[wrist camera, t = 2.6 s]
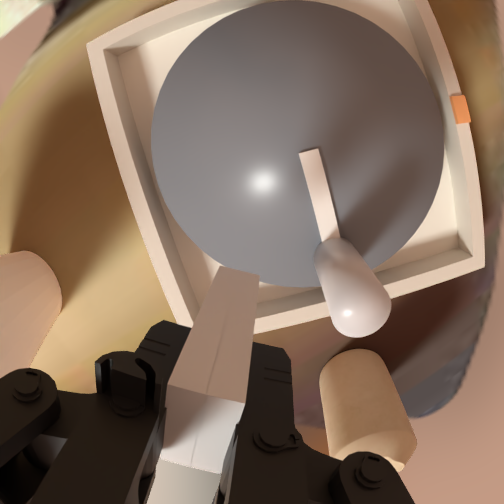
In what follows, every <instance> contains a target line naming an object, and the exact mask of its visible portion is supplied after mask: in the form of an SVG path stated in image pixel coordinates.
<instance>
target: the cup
mask: <svg viewBox="0 0 504 504" xmlns="http://www.w3.org/2000/svg"><path fill="white" fill-rule="evenodd" d="M61 308H62V294H61V289H60V286H59V283H58V280H57V278H56V276H55V274H54V272H53V271H52V269H51V268H50V267H49V265H48V264H47V263H46V262H45V261H44V260H43V259H42V258H41V257H40V256H39V255H37V254H35V253H33V252H30V251H19V252H14V253H9V254H4V255H0V378H2V377H3V376H5V375H6V374H8V373H10V372H12V371H14V370H17V369H22V368H29V366H30V365H31V363H32V361H33V359H34V357H35V355H36V354H37V352H38V350H39V348H40V346H41V345H42V343H43V341H44V339H45V338H46V336H47V334H48V332H49V331H50V329H51V327H52V326H53V324H54V322H55V321H56V319H57V317H58V316H59V314H60V311H61Z"/></svg>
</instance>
